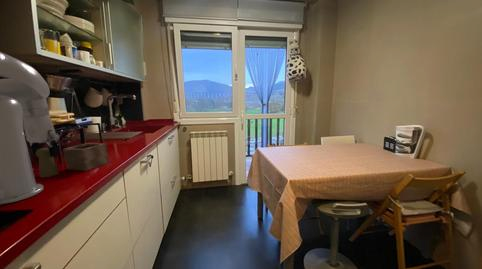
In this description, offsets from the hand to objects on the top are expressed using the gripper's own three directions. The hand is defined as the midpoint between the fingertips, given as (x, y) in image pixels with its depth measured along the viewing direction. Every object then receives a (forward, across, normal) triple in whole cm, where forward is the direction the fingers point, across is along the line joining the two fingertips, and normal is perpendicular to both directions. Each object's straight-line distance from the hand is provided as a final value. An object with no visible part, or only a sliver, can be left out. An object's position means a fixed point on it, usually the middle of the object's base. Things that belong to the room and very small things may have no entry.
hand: (46, 155), depth 86 cm
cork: (+8, +1, -1) cm, 8 cm away
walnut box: (+8, +7, +11) cm, 15 cm away
